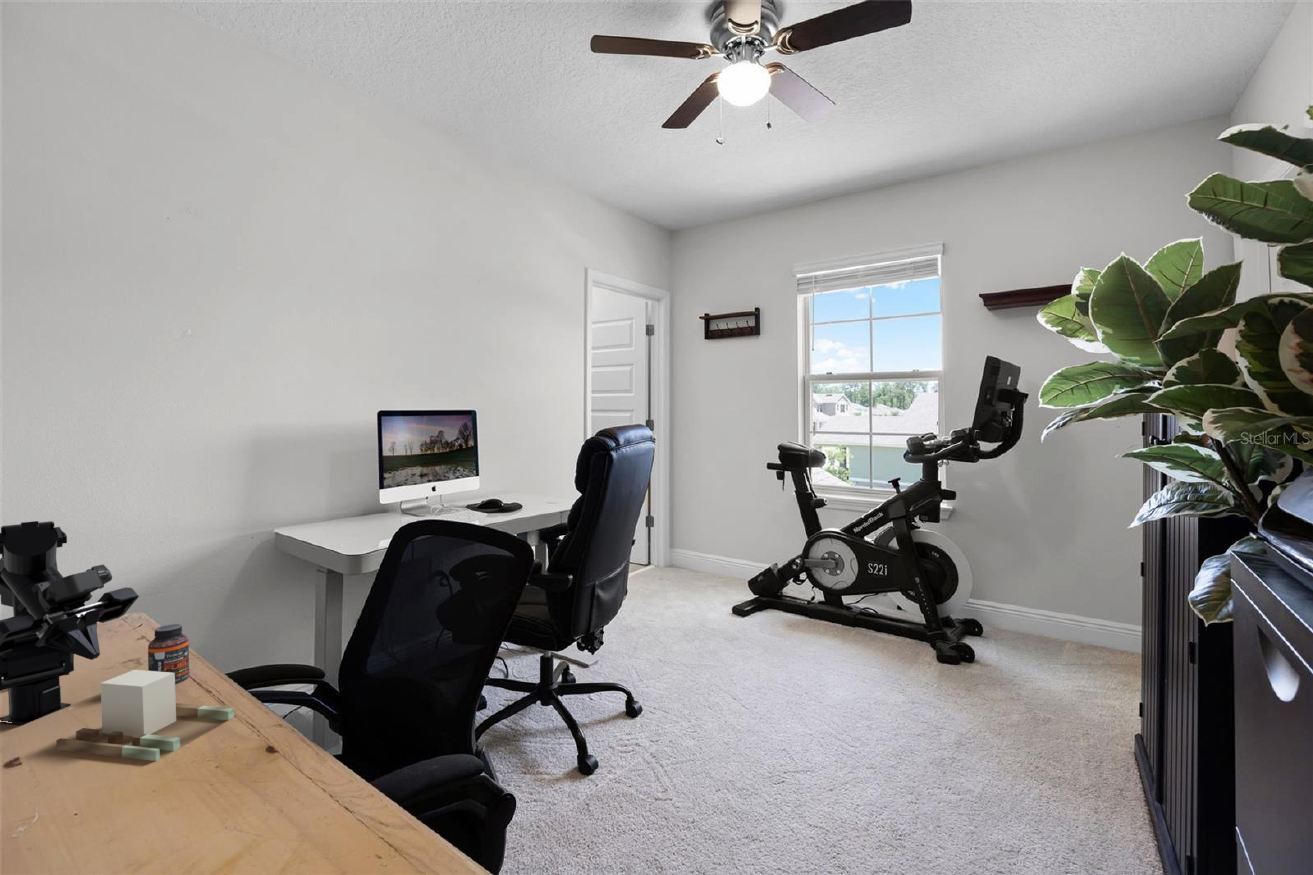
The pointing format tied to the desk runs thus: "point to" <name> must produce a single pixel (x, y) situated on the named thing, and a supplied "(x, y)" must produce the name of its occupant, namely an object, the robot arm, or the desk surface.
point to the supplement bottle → (170, 652)
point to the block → (138, 702)
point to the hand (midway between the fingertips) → (95, 657)
